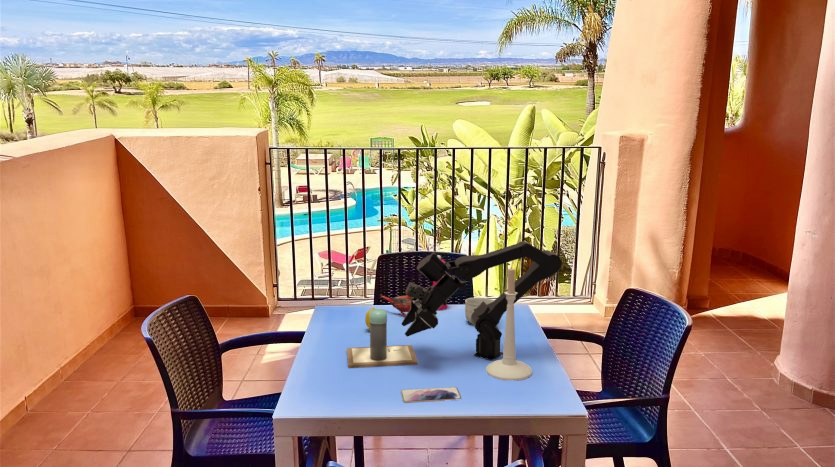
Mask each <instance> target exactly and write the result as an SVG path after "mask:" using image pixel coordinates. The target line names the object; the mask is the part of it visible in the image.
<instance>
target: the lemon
mask: <svg viewBox="0 0 835 467" xmlns="http://www.w3.org/2000/svg"><path fill="white" fill-rule="evenodd" d="M374 309H376V308H375V307H372V308H370V309H368V310H367V312H366V313H365V319H364V320H365V325H366V327H367V328H368V329H369V330H370V311H371V310H374Z"/></svg>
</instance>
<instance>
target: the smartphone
mask: <svg viewBox="0 0 835 467" xmlns="http://www.w3.org/2000/svg"><path fill="white" fill-rule="evenodd" d="M400 394H401V398H402V402H403V403H404V404H411V403H412V404H413V403H414V404H415V403H428V402H432V403H433V402H446V401H445V400H451V401H457V400H456V399H461V398H462V396H461V394H460V391H459V388H458V387H456V386H451V387H432V388H430V387H428V388H415V389H413V388H412V389H410V388H409V389H402V390H400ZM461 400H462V399H461Z"/></svg>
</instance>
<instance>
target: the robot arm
mask: <svg viewBox="0 0 835 467" xmlns="http://www.w3.org/2000/svg"><path fill="white" fill-rule="evenodd" d="M437 255H438V254H436V253H435V252H431V254H428V255H427V256H425V257H424V258H422V259H421V260H420V262H418V263H417V266H416V270H418V272H420V273H421V274H422V275H423V276H424V277H425V278H426V279H427V280H428V281H429V282H430V283H433V281H435V282H437V281H438V282H437V283H436V284H435V285H434V286H433V285H430V286H428V287H427V288H426V287H424V286H421V285H418V284H416V283H414V282H411V281H409V282H408V284H407V287H406V289H405V291H404V292H405V294H406V295H407V296H409V297H411V299H412V300H413V301H412V300H411V299H410V306H411V307H410V309H409V311H408V312H406V316H404V318H403V320H402V322H401V326H402V327H406V326H408V325H409V324H410V326H408V328H407V330H406V331H405V333H404V335H405V336H406V337H409V336H413V335H415V334H417V333H421V332H423V331H427V330H431V329H435V328H436V327H437V326H438V325H439V318H438V317H437V314H438V312H437V311H439V310H438V309H439V308H440V307H441V306H442V305H443V304H444V305H446V304H447V305H448V300H450V298H451V297H452V296H453V295H454V294H455V293H456V292H457V291H458V290H459V289H460V290H461V291H462V292H464V293H466V292H467V286H466V285H467V282H466V281H469V280H472V279H474V278H476V277H478V276H479V275H481V274H483V273H484V272H485V271H486V270H488V269H491V268H494V267H497V266H501V265H505V264H507V263H510V262H513V261H516V260H519V259H522V258H528V259H530V260H531V261H532V262H531V263H530V265H529V267H528V269H527V270H526V271H525V273H523V274H522V275H521V276H520V277H519V278H518V279H517V280H515V292H517V294H516V296H515V297H516V299H515V300H514V304H516V303H517V302H518V301H519V300H520V299H521V298H522V297H524V296H525V295H526V294H527V293H528V292H529V291H530V290H531V289H532V288H534V286H536V285H537V284H538V283H539V282H541V281H544V280H546V279H549V278H551V277H552V276H553V275H555V274H557V273H558V272H559V271H560V270H561V269H562V267H563V266H562V258H561V257H560V256H559V255H557V254H556V253H555V252H553V251H551V250H549V249H548V250H546V249H545V250H544V249H543V250H542V249H540V248H537V247H536V246H534V245H532V244H530V243H529V242H527V241H525V240H521V241H519V242H518V243H517V242H516V243H515V244H512V245H509V246H505V247H503V248H499V249H497V250H496V249H495V250H493V251H490V252H487V253H484V254H475V255H463V256H460V257H457V258H456V259H455V260H450V261H445V263H443V262H442V261H441V260H440V259H439V258H438V256H437ZM444 274H445V275H444ZM443 275H444V276H443ZM459 278H460V279H461V280H460V279H459ZM432 286H433V287H432ZM504 292H507V289H506V290H505V291H503V292H502V293H501V294H500V295H499V296H498V297H497V298H496V299H494V300H495V301H493V302H492V303H489V304H487V305H486V303H485V302H484V301H483V302H482V303H481V304H480V306H479V307H477V308H476V309H474V313H473V314H472V316H471V322H472V323H471V324H472V325H473V327H474V329H475V330H476V332H477V333H478V334H476V339H475V353H474V354H473V356H474V357H477V358H482V359H485V360H490V361H495V359H498V358H499V357H501V356H503V352H501V338H502V335H503V333H502V332H501V330H500V328H498V324H499V323H500V321H501V320H502V319H501V318H502V317H503V315H505V313H507V305H508V302H507V299H506V294H505V293H504ZM406 295H405V296H406Z"/></svg>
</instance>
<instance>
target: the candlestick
mask: <svg viewBox="0 0 835 467" xmlns="http://www.w3.org/2000/svg"><path fill="white" fill-rule="evenodd" d="M515 282H516V269H515V268H513V267H510V268H508V269H507V283H506V284H507V289H506V290H507V292H505V291H503V292H504V293H505V294H506V299H507V302H508V305H507V311H506V312H505V313H506V314H505V326H504V342H503V352H502V353H503V355H502V356H503V357H502V359H498V360H493V361H492V362H491V363H489V364H487V366H486V368H485V373H486V374H487V375H488V374H489V375H488V376H490V377H491V376H492V377H491V378H493V377H494V379H496V378H497V380H500V379H501V381H507V380H510V381H509V382H511V380H513V381H512V382H514V381H515V380H517V381H522V380H526V379H529V378H530V377H531V376H532V375H533V369H532V368H531V367H530V366H529V365H528V364H526V363H525V362H523V361H520V360H517V358H516V357H517V354H516V330H515V329H516V328H515V327H516V326H515V324H516V323H515V305H514V300H515V299H516V297H515V296H516V294H517V292H515ZM528 377H529V378H528Z"/></svg>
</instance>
